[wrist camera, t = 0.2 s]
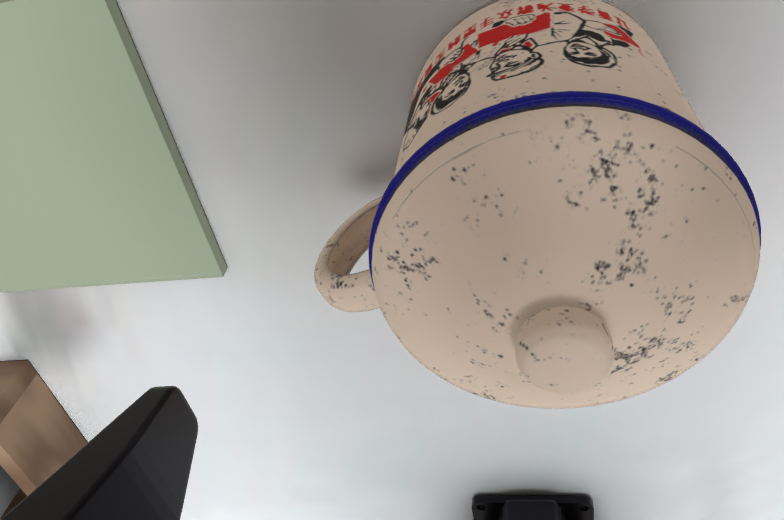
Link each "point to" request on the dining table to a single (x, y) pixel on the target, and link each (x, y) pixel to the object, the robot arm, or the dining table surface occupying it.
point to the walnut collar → (32, 429)
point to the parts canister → (6, 490)
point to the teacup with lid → (552, 214)
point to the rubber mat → (89, 158)
